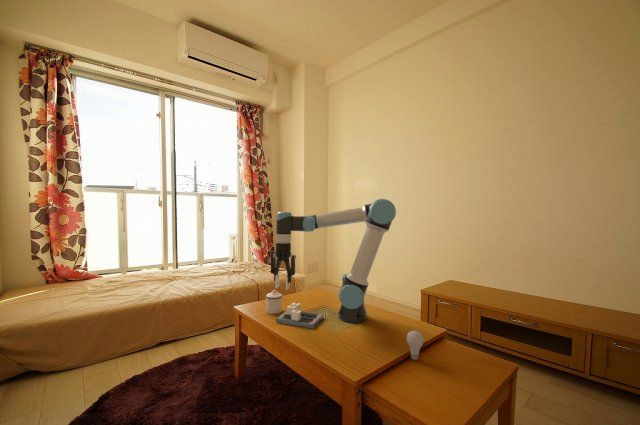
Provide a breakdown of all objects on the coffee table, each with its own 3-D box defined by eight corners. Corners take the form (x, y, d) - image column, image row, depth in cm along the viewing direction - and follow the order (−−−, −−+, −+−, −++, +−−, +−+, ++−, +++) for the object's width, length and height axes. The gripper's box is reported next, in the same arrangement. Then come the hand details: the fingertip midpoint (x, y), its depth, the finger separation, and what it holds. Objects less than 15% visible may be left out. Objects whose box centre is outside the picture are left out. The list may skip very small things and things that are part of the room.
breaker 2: (300, 311, 150) (300, 303, 150) (297, 312, 147) (297, 304, 147) (293, 310, 151) (293, 302, 151) (290, 311, 148) (291, 303, 148)
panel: (323, 318, 146) (323, 312, 146) (312, 329, 132) (313, 323, 132) (289, 312, 153) (289, 307, 153) (275, 322, 139) (275, 316, 139)
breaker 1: (296, 314, 145) (296, 306, 145) (293, 316, 142) (293, 307, 142) (289, 313, 146) (289, 305, 146) (286, 314, 144) (286, 306, 144)
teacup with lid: (285, 311, 155) (285, 290, 155) (271, 315, 148) (272, 293, 148) (272, 306, 163) (272, 286, 163) (259, 309, 156) (259, 289, 156)
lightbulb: (409, 354, 110) (410, 326, 110) (425, 359, 106) (426, 330, 106) (403, 360, 106) (404, 331, 106) (419, 366, 102) (420, 336, 102)
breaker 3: (301, 319, 139) (301, 310, 139) (298, 321, 136) (298, 312, 136) (293, 317, 140) (293, 309, 140) (291, 319, 137) (291, 311, 137)
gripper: (303, 242, 141) (301, 288, 141) (271, 240, 147) (270, 284, 147) (296, 244, 134) (295, 292, 134) (263, 242, 140) (262, 288, 140)
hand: (282, 288), depth 141 cm, fingers open, 5 cm apart
